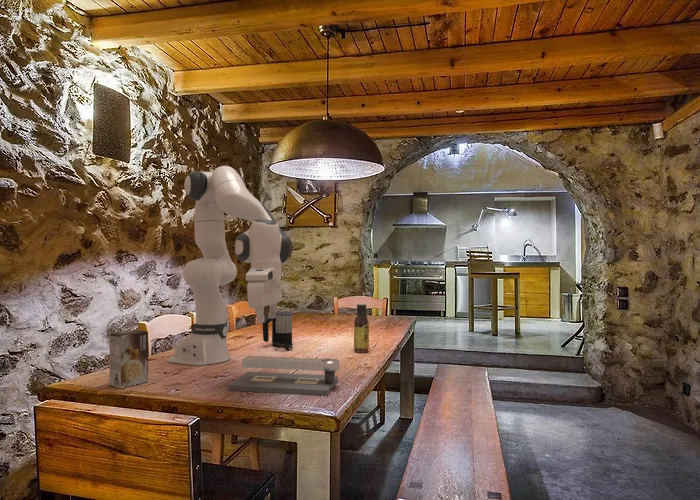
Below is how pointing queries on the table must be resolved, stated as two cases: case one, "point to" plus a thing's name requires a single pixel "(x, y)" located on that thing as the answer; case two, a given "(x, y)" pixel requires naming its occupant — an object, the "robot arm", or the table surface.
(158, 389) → the table surface
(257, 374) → the label board
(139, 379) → the coffee box
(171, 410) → the table surface
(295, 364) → the grey flat bar
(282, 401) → the table surface
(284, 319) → the milk frother
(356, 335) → the sauce bottle
